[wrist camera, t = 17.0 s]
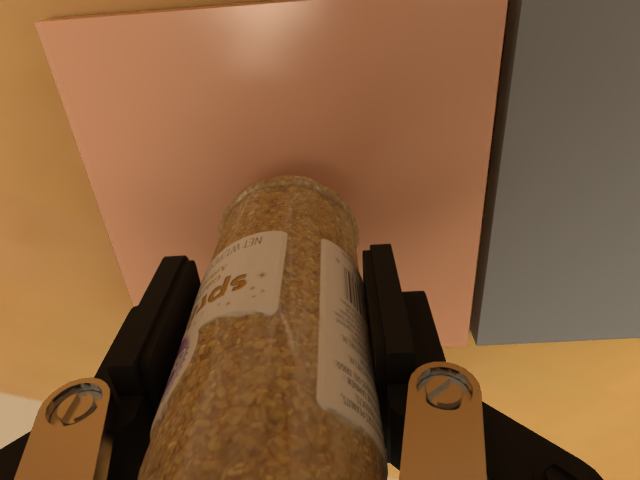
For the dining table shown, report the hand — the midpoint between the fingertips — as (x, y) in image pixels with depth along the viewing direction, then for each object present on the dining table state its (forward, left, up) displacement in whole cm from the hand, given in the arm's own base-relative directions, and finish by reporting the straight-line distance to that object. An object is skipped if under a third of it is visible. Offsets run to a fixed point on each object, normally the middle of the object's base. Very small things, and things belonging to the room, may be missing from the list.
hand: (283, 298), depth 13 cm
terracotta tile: (0, 0, -6) cm, 6 cm away
